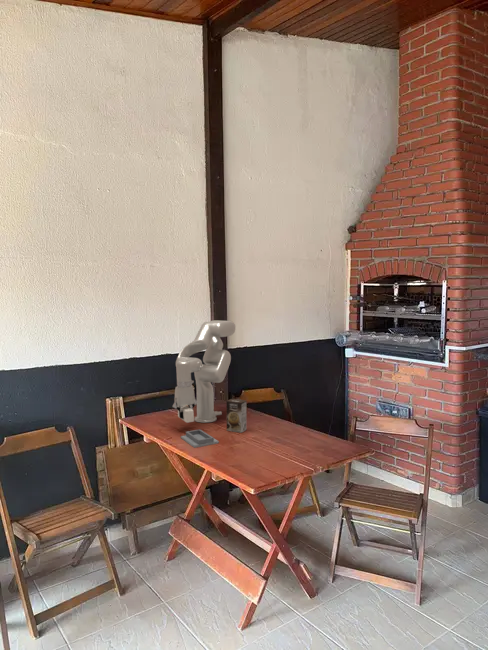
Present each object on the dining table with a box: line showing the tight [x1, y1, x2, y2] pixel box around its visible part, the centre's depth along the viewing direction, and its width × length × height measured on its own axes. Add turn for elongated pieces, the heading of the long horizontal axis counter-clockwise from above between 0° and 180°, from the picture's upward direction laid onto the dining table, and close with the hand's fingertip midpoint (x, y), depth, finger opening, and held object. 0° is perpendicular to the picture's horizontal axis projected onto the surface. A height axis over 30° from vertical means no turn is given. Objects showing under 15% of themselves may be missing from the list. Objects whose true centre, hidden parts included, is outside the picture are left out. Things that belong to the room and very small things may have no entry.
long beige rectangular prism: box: [177, 405, 195, 424], centre depth 279 cm, size 4×12×6 cm, turn 29°
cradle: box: [180, 429, 220, 449], centre depth 263 cm, size 13×17×3 cm
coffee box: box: [226, 398, 247, 434], centre depth 279 cm, size 9×6×16 cm
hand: (185, 417), depth 280 cm, fingers closed on long beige rectangular prism, 4 cm apart
